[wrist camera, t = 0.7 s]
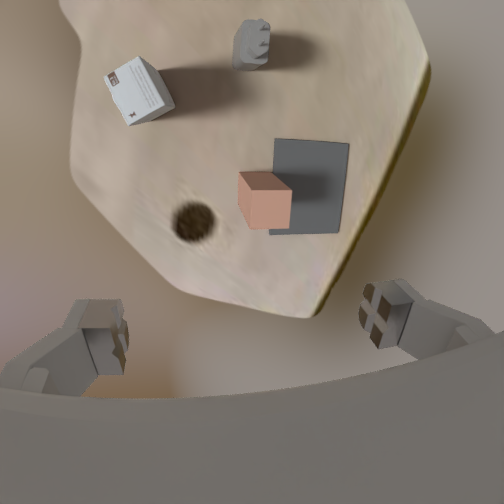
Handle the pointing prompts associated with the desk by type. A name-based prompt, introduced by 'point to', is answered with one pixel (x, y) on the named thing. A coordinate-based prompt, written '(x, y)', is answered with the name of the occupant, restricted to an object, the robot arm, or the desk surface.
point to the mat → (311, 183)
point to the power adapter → (251, 45)
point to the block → (264, 200)
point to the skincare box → (139, 91)
